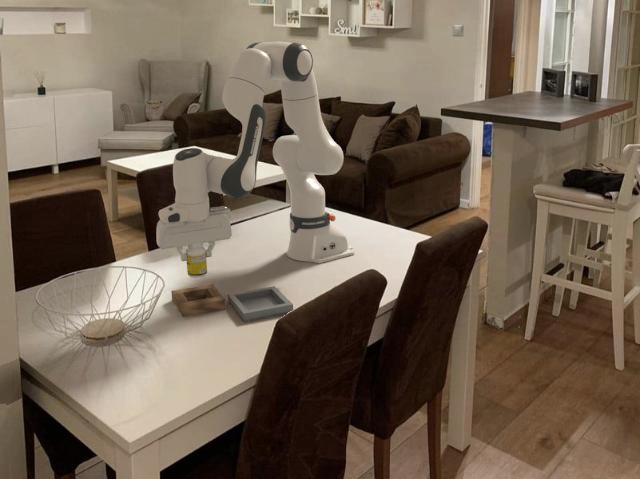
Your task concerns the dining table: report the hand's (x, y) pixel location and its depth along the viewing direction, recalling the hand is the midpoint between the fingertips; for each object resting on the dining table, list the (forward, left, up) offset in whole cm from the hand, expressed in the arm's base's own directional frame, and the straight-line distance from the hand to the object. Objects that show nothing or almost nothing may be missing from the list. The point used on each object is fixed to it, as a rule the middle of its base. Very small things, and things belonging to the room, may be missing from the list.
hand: (196, 258), depth 199 cm
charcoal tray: (-15, +9, -14) cm, 22 cm away
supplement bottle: (0, 0, -5) cm, 5 cm away
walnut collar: (0, 0, -14) cm, 14 cm away
